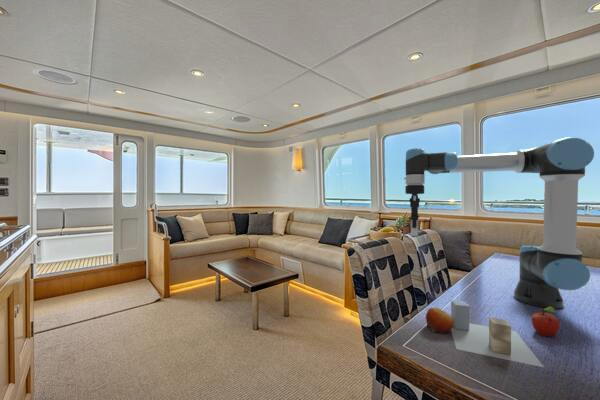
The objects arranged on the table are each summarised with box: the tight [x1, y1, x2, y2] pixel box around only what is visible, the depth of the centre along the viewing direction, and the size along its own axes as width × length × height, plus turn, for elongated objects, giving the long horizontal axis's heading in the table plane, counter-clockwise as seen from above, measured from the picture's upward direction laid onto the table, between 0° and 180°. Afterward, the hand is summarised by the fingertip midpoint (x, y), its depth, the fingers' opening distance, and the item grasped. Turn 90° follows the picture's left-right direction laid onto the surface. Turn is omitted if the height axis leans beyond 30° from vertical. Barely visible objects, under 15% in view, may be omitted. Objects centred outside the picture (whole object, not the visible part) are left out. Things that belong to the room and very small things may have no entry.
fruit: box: [425, 307, 454, 334], centre depth 82 cm, size 8×8×8 cm
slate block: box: [450, 299, 470, 331], centre depth 83 cm, size 4×4×8 cm
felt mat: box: [450, 322, 545, 368], centre depth 76 cm, size 19×19×1 cm
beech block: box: [488, 316, 512, 355], centre depth 71 cm, size 4×4×8 cm
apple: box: [531, 307, 561, 338], centre depth 79 cm, size 8×7×10 cm
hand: (414, 233), depth 110 cm, fingers open, 13 cm apart
